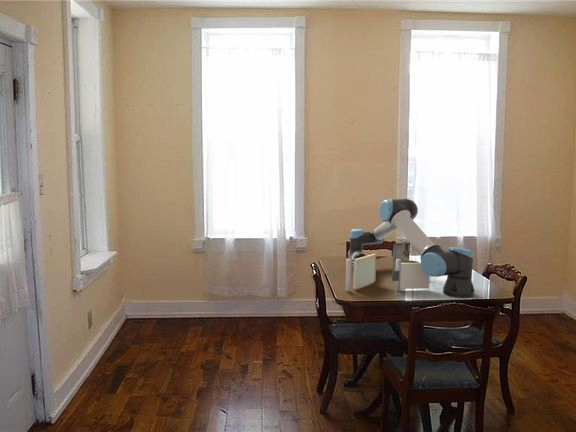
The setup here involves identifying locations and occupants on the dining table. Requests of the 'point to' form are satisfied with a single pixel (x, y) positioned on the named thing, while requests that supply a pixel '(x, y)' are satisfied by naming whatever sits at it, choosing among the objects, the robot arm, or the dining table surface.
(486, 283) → the dining table surface
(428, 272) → the robot arm
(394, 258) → the coffee box
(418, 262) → the plant pot
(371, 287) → the dining table surface
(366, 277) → the gate
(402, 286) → the fence
